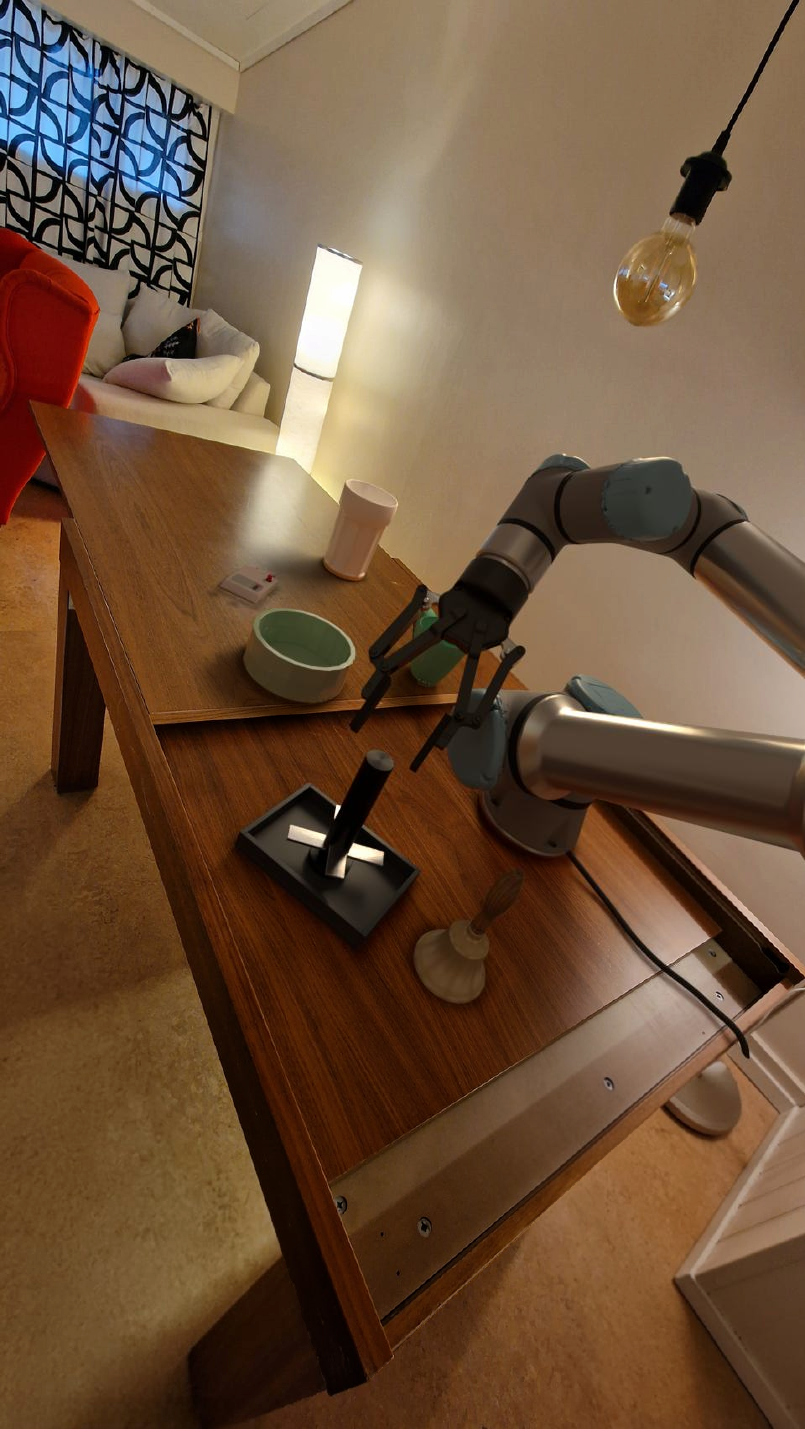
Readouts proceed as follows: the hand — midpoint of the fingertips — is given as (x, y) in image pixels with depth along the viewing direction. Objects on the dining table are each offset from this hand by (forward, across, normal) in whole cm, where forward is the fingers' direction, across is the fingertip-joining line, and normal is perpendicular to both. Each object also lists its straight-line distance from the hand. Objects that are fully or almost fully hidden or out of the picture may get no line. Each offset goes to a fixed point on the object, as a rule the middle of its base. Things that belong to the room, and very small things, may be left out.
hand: (383, 748), depth 64 cm
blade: (+13, -1, -9) cm, 16 cm away
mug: (-22, +8, -45) cm, 50 cm away
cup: (-36, +36, -60) cm, 78 cm away
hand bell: (+15, -18, -8) cm, 25 cm away
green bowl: (-6, +22, -30) cm, 37 cm away
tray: (+13, -1, -10) cm, 16 cm away
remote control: (-17, +41, -41) cm, 60 cm away
